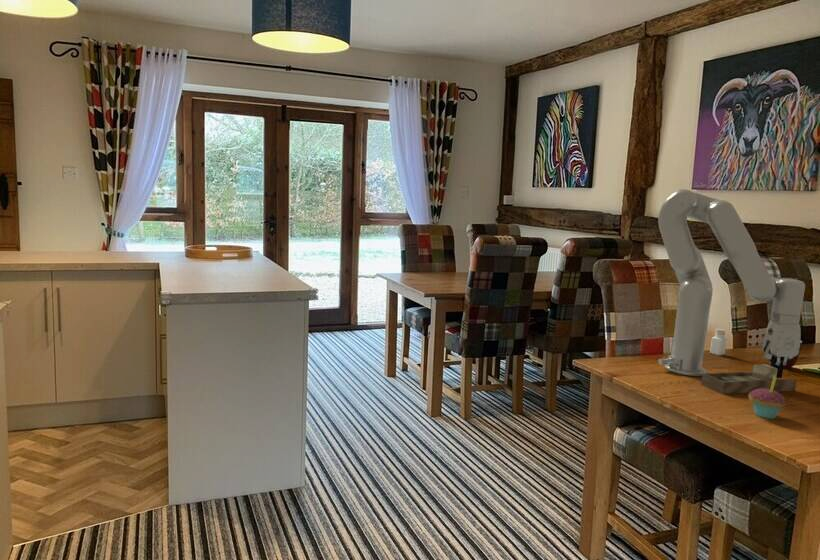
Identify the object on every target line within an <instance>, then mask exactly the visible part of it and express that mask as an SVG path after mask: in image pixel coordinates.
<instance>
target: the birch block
mask: <svg viewBox="0 0 820 560" xmlns="http://www.w3.org/2000/svg"><path fill="white" fill-rule="evenodd" d="M777 370H778V369H777V368H774V367H771V365H770V364H769V365H768V364H764V363H763V364H753V368H752V372H753V374H752V377H753V378H756V379H758V380H773V378H774V377H775V376H777V375H776V374H777Z"/></svg>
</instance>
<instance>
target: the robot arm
mask: <svg viewBox="0 0 820 560" xmlns="http://www.w3.org/2000/svg"><path fill="white" fill-rule="evenodd" d="M688 218H689V219H691V220H695V221H697V222H702V223H704V224H707V225H709V227H710V228H711V230H712V232H713V234H714V236H715V237H716V239H717V241H718V243H719V245H720V247H721V248H722V250H723V253H724V254H725V256H726V257H727V259H728V260H729V262H730V263H731V265H732V266H733V267H734V270H735V272H736V273H737V276H738V277H739V279H740V280H741V282H742V285H743V286H744V287H745V290H746V292H747V293H748V296H750V297H749V298H751V299H752V300H753V301H755V302H760V303H765V302H766V303H767V302H769V301H771V300H772V307H771V312H770V313H771V314H770V316H769V318H770V320H769V322H768V325H767V328H766V330H765V335H764V337H763V343H762V352H763V353H764V354H763V358H764V359H767V360H768V361H769V363H770V366H771V367H774V368H777V369H778V370H777V376H776V377H777V378H776V379H782V377H783V374H784V369H785V368H784V366H783V365H786V362H787V360H788V359H791V358H793V357H794V356H797V355H798V353H799V348H800V341H801V337H802V336H801V335H802V333H801V331H802V330H801V325H800V319H801V313H802V307H803V302H804V297H805V296H804V295H805V290H806V283H805V282H804V281H801V280H799V279H792V278H779V277H774V276H771V275H770V272H769V271H768V269H767V267H766V265H765V263H764V262H763V259H761V256H760V254H759V252H758V249H757V247H756V244H755V243H754V240H753V239H752V237H751V235H750V233H749V232H748V229H747V228H746V226H745V224H744V223H743V221H742V218H741V217H740V215H739V213H738V211H737V210H736V208H735V207H734V205H733V204H732V203H731V202H730V201H727V200H721V199H718V198H713V197H710V196H706V195H704V194H700V193H697V192H694V191H692V190H690V189H686V188H683V189H682V188H681V189H678V190H675V191H674V192H672V194H670V195H669V196H668V197H667V198H666V199H665V201H664V202H663V204H661V206H660V209H659V212H658V221H657V222H658V228H659V232H660V234H661V238H662V241H663V244H664V247H665V251H666V253H667V257H668V260H669V261H668V262H669V264H670V267H671V268H672V269H673V270H674V273H675V276H676V278H677V280H678V283H679V290H678V298H677V308H676V316H675V325H674V331H673V332H674V333H673V340H672V346H671V354H670V355H669V354H668V357H666V358H659V359H658V360H657V362H658V364H659V366H660V365H661V366H662V365H664V368H665V369H666V370H667V371H670V372H672V373H675V374H679V375H682V376H683V375H684V376H690V377H702V373H707V370H706V369H705V368H704V367H703V360H704V353H705V345H706V340H707V331H708V326H709V325H708V324H709V318H710V312H711V311H710V309H711V305H712V299H713V298H712V297H713V292H714V291H713V283H712V281H711V278H710V275H709V272H708V269H707V267H706V263H705V261H704V257H703V256H702V253H701V251H700V249H699V248H698V247H697V246H696V244H695V242H694V239H693V237H692V234H691V230H690V227H689V225H688ZM775 357H776V358H775Z"/></svg>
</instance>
